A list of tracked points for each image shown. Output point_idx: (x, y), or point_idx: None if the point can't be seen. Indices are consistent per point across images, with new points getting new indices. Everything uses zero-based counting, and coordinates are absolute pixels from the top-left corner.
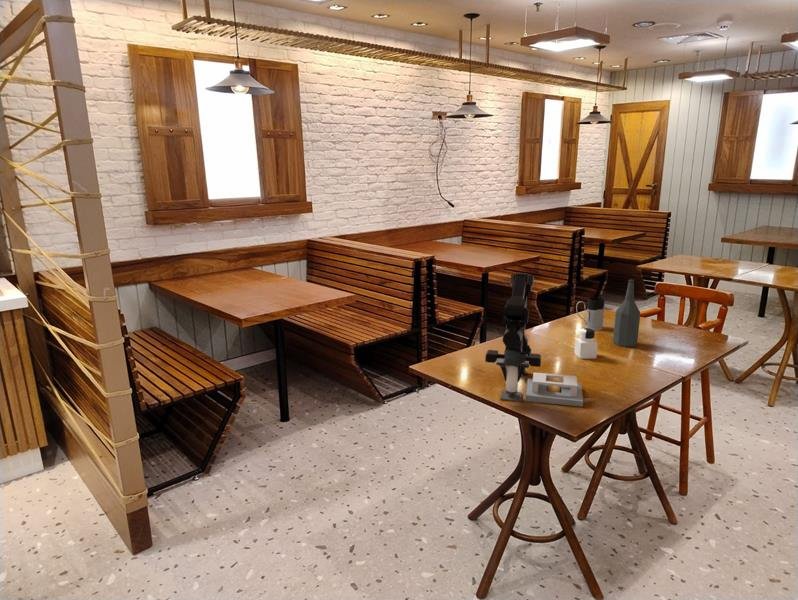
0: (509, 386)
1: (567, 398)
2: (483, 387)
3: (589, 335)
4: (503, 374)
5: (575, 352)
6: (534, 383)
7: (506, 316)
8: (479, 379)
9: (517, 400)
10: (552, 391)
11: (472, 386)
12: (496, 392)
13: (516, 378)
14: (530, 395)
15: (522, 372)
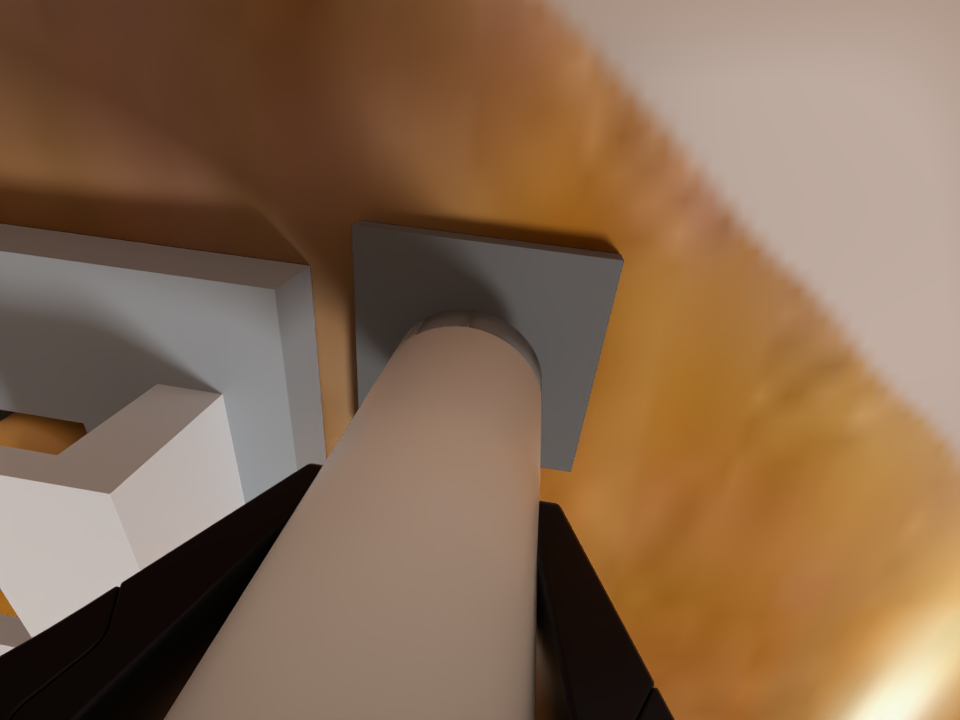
0: (486, 379)
1: None
2: (757, 544)
3: None
4: (623, 625)
5: None
6: (105, 467)
7: None
8: (749, 671)
9: (395, 228)
10: (33, 426)
11: (879, 561)
12: (634, 447)
13: (307, 494)
14: (216, 295)
15: (35, 638)
